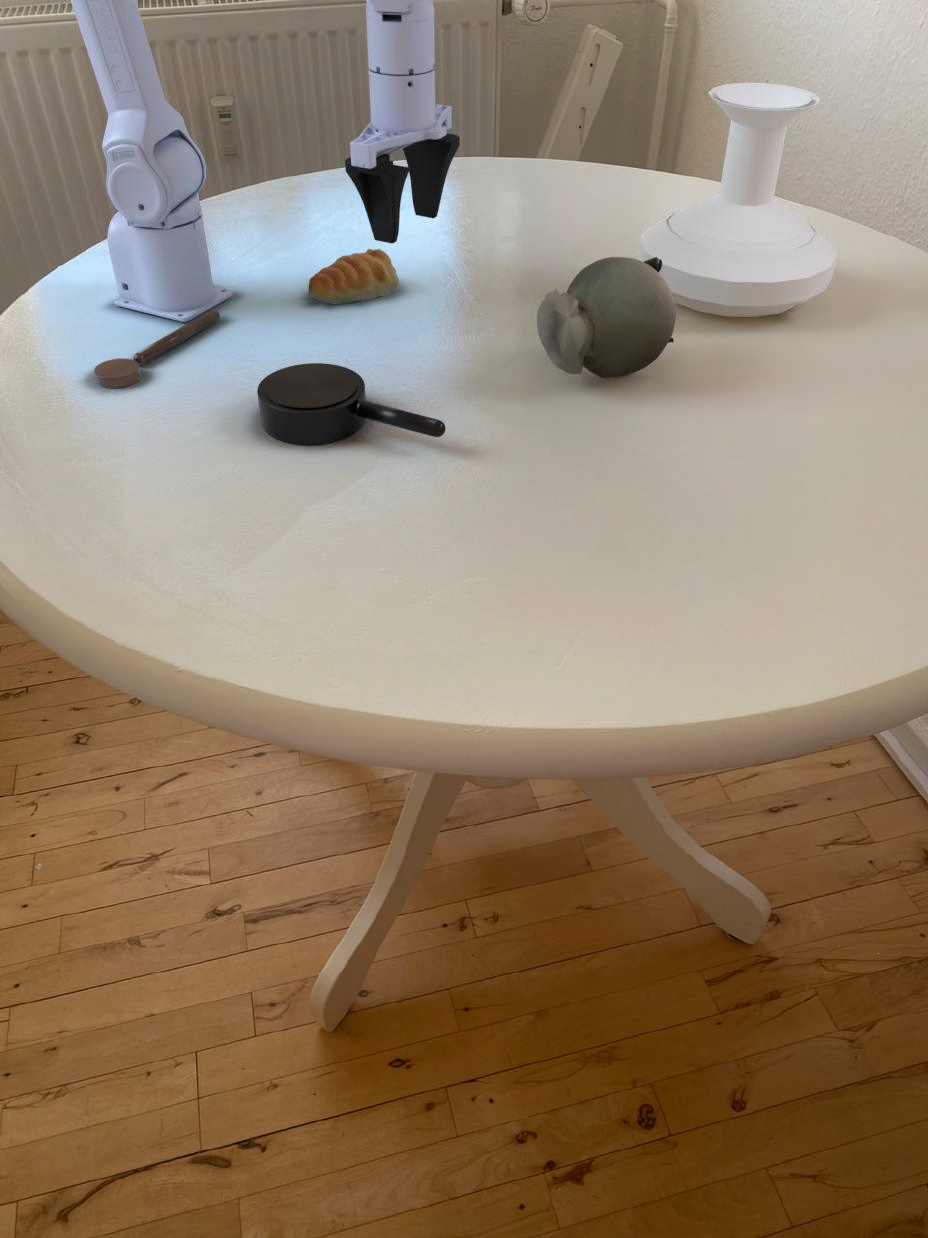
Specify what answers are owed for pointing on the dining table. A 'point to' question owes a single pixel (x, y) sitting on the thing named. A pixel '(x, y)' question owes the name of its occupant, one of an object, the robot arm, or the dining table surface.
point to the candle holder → (745, 219)
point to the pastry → (355, 278)
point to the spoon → (148, 354)
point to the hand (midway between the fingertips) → (406, 227)
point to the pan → (326, 406)
